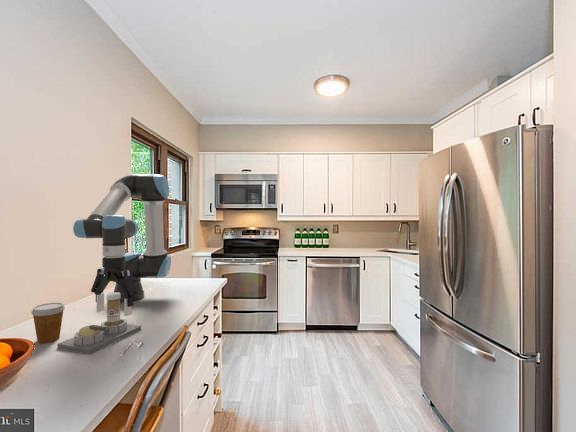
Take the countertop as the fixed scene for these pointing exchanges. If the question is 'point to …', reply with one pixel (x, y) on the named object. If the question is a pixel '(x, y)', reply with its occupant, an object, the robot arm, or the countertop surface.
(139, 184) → the robot arm
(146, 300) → the countertop surface
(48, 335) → the disposable coffee cup
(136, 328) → the gear housing
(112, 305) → the sprinkles bottle
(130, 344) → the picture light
